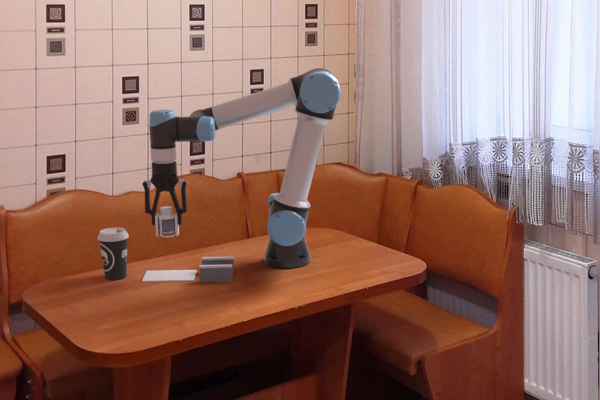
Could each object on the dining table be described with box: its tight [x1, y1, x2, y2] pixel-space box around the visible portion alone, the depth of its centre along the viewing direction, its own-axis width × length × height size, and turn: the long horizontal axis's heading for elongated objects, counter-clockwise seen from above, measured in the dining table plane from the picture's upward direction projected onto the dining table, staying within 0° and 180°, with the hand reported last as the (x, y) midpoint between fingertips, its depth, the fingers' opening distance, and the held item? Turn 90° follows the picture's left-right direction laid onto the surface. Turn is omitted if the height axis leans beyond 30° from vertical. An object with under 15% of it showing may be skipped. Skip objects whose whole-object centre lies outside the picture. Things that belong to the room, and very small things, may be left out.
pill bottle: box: [158, 205, 176, 238], centre depth 262 cm, size 5×5×9 cm
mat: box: [141, 269, 198, 283], centre depth 266 cm, size 16×10×1 cm, turn 91°
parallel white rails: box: [198, 255, 235, 283], centre depth 264 cm, size 10×10×5 cm
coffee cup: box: [97, 227, 130, 281], centre depth 264 cm, size 10×10×15 cm
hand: (167, 234), depth 262 cm, fingers closed on pill bottle, 5 cm apart
